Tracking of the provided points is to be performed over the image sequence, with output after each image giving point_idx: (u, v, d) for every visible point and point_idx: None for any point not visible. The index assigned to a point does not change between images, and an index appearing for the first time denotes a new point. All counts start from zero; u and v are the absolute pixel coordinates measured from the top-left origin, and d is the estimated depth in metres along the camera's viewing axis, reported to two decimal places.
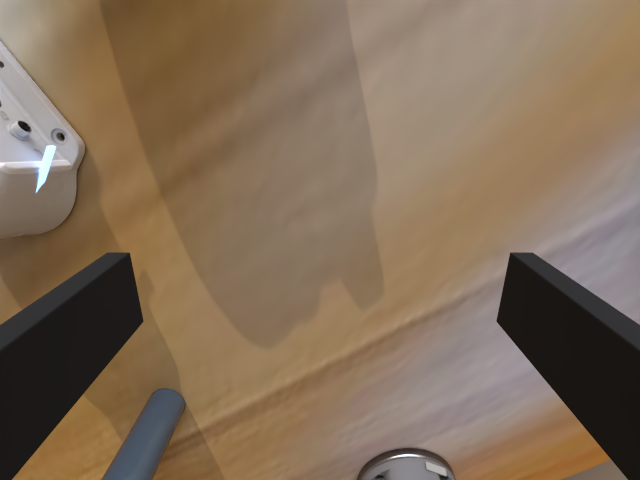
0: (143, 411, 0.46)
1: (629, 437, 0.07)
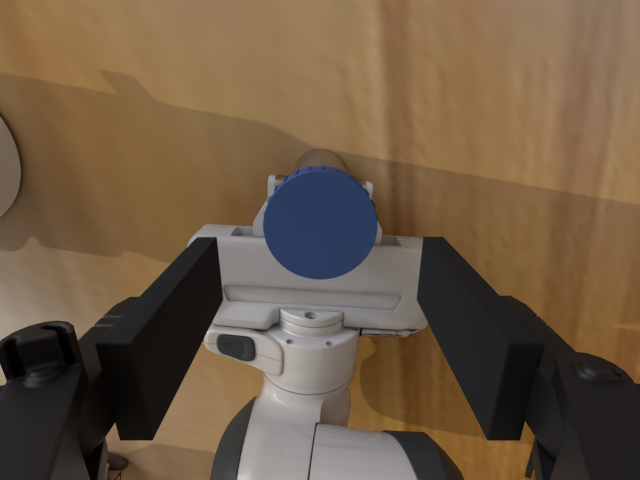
0: None
1: (477, 383, 0.09)
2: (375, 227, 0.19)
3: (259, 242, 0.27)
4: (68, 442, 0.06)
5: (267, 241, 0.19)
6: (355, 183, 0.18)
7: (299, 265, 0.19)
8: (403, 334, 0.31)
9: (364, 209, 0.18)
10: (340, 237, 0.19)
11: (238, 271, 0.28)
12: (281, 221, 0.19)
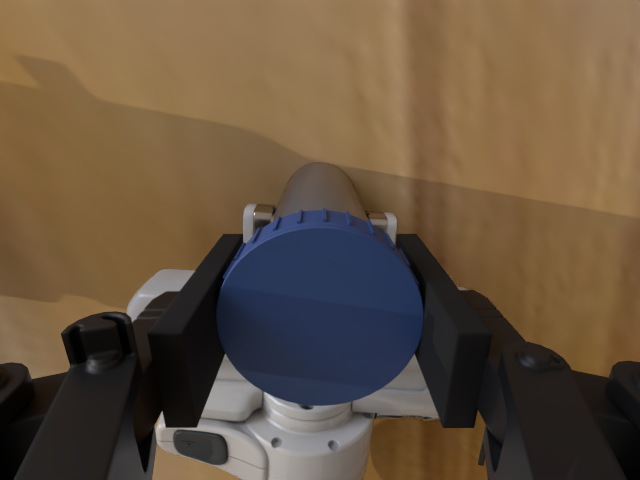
0: None
1: (435, 374, 0.09)
2: (420, 324, 0.10)
3: None
4: (126, 430, 0.06)
5: (225, 347, 0.11)
6: (386, 249, 0.10)
7: (283, 384, 0.11)
8: (433, 417, 0.23)
9: (401, 294, 0.10)
10: (356, 340, 0.10)
11: None
12: (249, 314, 0.10)
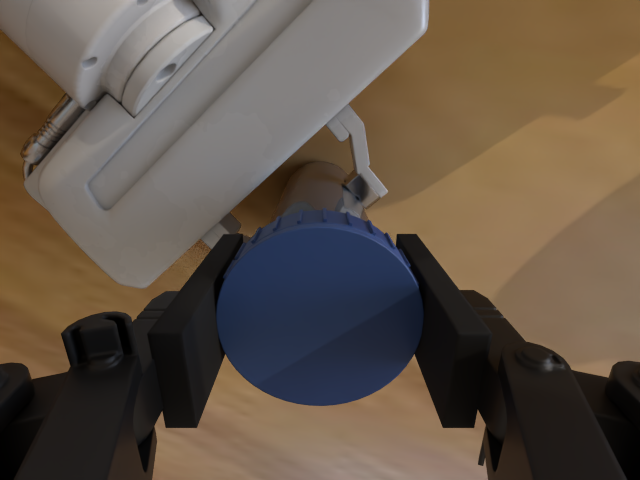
0: (344, 177, 0.21)
1: (435, 373, 0.09)
2: (420, 324, 0.10)
3: (335, 109, 0.16)
4: (125, 429, 0.06)
5: (224, 346, 0.11)
6: (386, 249, 0.10)
7: (283, 384, 0.11)
8: (31, 153, 0.17)
9: (401, 294, 0.10)
10: (356, 340, 0.10)
11: (326, 34, 0.15)
12: (248, 314, 0.10)
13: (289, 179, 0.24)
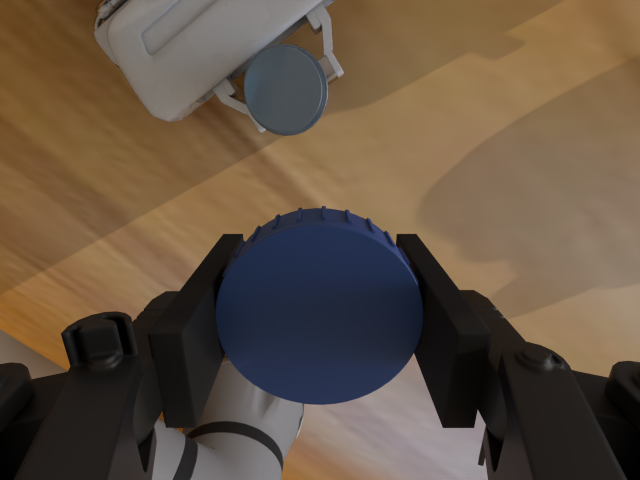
0: None
1: (435, 373, 0.09)
2: (419, 322, 0.10)
3: (312, 2, 0.24)
4: (126, 429, 0.06)
5: (224, 345, 0.10)
6: (385, 247, 0.10)
7: (282, 383, 0.11)
8: (103, 9, 0.26)
9: (401, 292, 0.10)
10: (356, 339, 0.10)
11: None
12: (248, 312, 0.10)
13: None
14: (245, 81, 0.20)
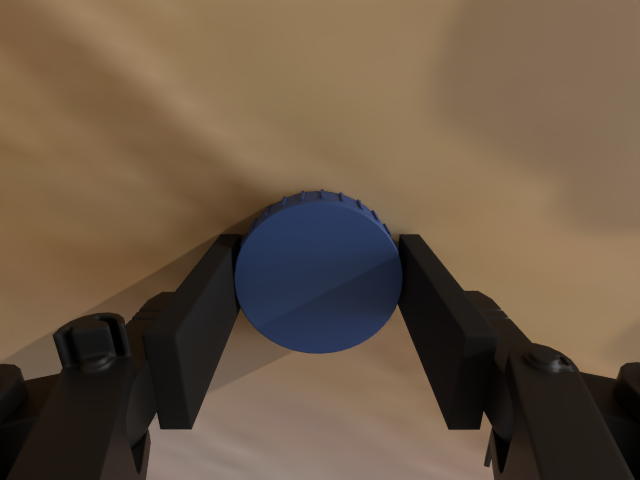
0: None
1: (440, 375, 0.09)
2: (399, 283, 0.13)
3: None
4: (119, 431, 0.06)
5: (241, 302, 0.13)
6: (371, 220, 0.12)
7: (288, 334, 0.13)
8: None
9: (384, 258, 0.12)
10: (348, 296, 0.13)
11: None
12: (261, 274, 0.13)
13: None
14: None
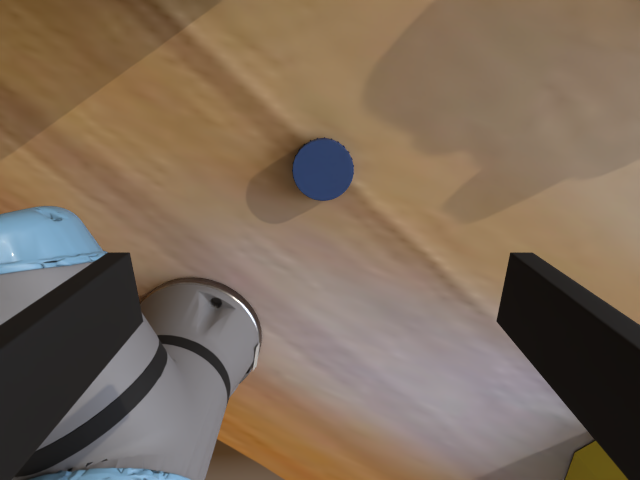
0: None
1: (629, 438, 0.07)
2: (352, 170, 0.35)
3: None
4: None
5: (294, 178, 0.35)
6: (341, 146, 0.34)
7: (311, 192, 0.36)
8: None
9: (346, 160, 0.35)
10: (334, 176, 0.35)
11: None
12: (302, 167, 0.35)
13: None
14: None
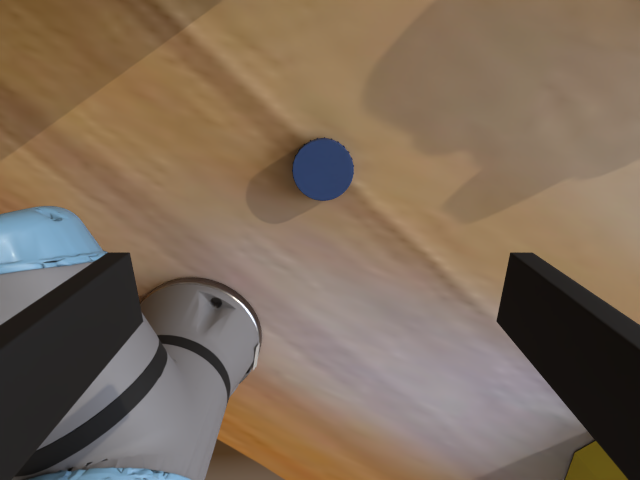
0: None
1: (629, 438, 0.07)
2: (352, 170, 0.35)
3: None
4: None
5: (294, 178, 0.35)
6: (341, 146, 0.34)
7: (311, 192, 0.36)
8: None
9: (346, 160, 0.35)
10: (333, 176, 0.35)
11: None
12: (302, 167, 0.35)
13: None
14: None
